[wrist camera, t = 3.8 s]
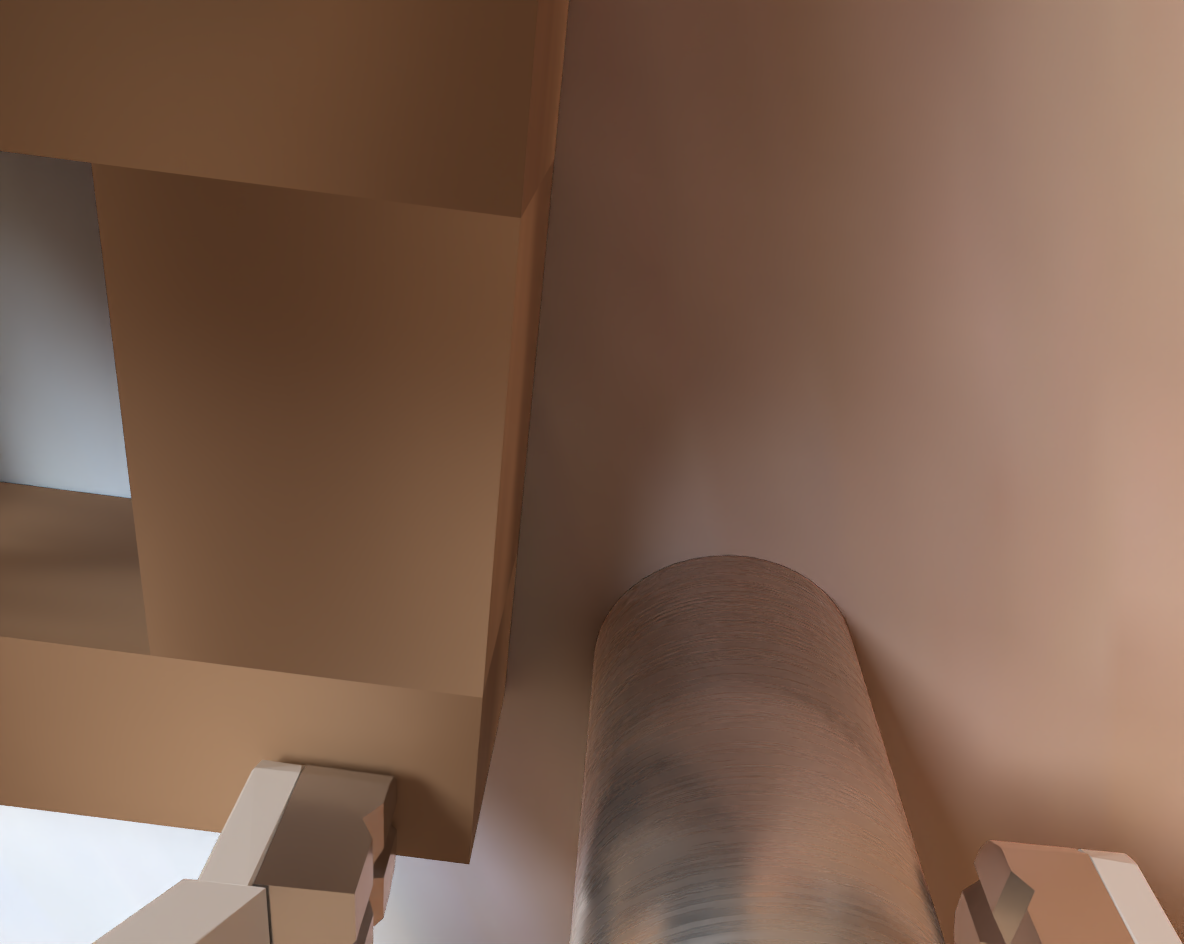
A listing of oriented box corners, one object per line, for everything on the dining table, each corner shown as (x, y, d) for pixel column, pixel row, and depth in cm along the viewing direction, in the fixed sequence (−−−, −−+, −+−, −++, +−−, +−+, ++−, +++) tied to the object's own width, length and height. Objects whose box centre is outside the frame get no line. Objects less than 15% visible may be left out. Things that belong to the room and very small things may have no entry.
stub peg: (882, 573, 13) (1182, 1339, 5) (821, 776, 14) (992, 1567, 7) (610, 539, 13) (556, 1261, 5) (581, 745, 14) (509, 1509, 7)
